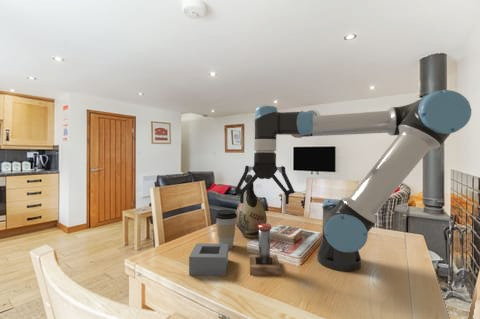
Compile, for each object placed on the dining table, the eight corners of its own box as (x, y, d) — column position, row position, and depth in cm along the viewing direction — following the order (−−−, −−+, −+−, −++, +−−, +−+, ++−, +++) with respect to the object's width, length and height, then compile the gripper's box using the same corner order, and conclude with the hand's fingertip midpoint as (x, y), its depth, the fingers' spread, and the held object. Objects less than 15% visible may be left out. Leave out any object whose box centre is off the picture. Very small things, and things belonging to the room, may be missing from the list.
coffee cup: (234, 251, 100) (234, 215, 99) (211, 249, 102) (212, 213, 101) (238, 243, 109) (239, 209, 109) (218, 241, 111) (218, 208, 111)
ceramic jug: (234, 229, 128) (235, 172, 128) (264, 229, 129) (264, 172, 128) (235, 241, 111) (235, 175, 111) (269, 241, 112) (270, 175, 111)
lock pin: (270, 265, 88) (270, 223, 88) (271, 271, 84) (271, 227, 83) (257, 264, 88) (257, 223, 88) (257, 270, 84) (258, 227, 83)
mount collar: (276, 261, 91) (276, 255, 91) (280, 275, 81) (280, 267, 81) (249, 261, 91) (249, 254, 91) (250, 274, 81) (250, 267, 81)
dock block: (228, 259, 92) (228, 243, 92) (225, 275, 80) (225, 257, 80) (196, 259, 93) (196, 243, 93) (188, 274, 81) (188, 256, 80)
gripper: (299, 152, 88) (297, 211, 89) (229, 151, 89) (228, 209, 90) (304, 152, 81) (302, 216, 82) (228, 151, 82) (227, 214, 82)
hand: (263, 213), depth 86 cm, fingers open, 13 cm apart
